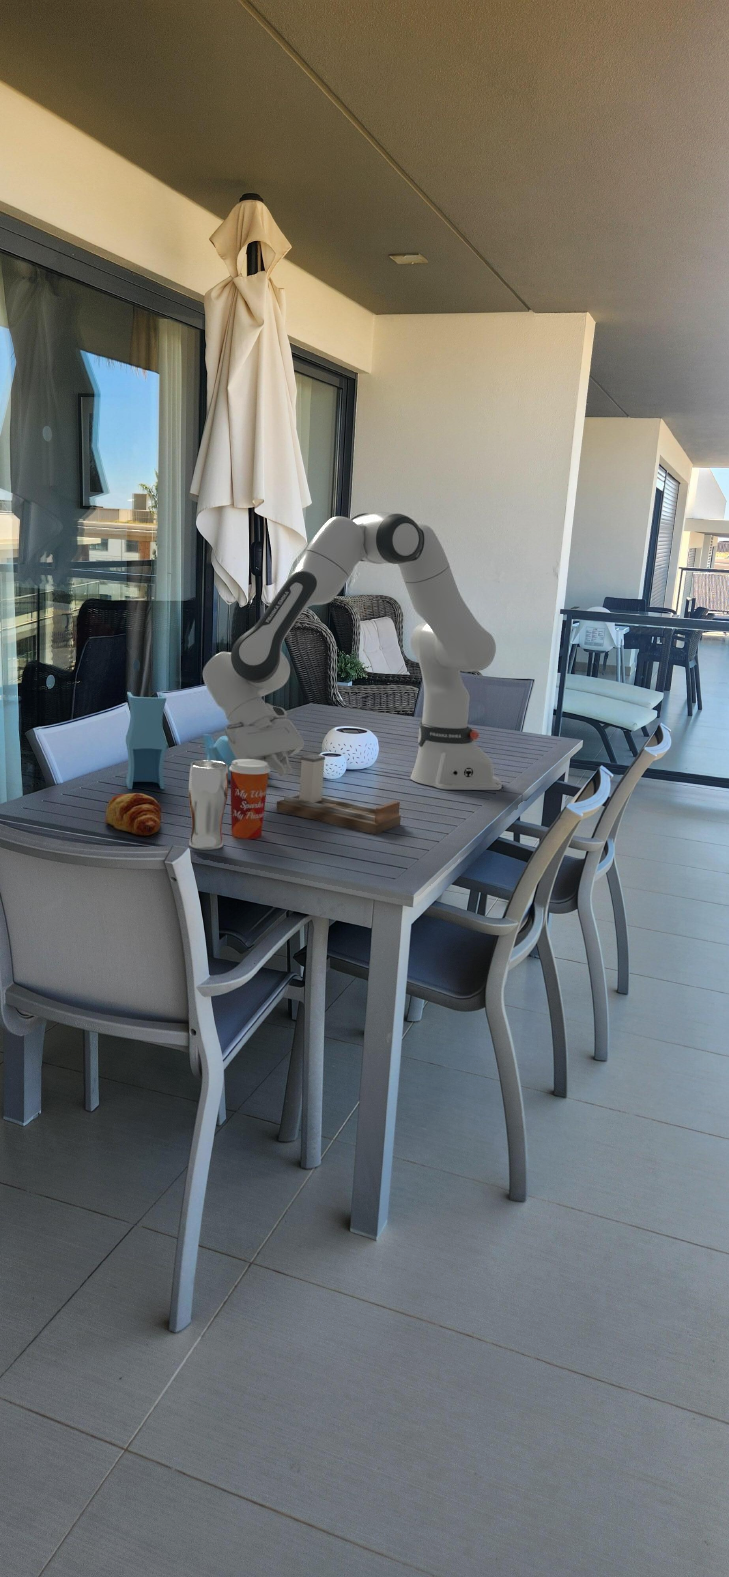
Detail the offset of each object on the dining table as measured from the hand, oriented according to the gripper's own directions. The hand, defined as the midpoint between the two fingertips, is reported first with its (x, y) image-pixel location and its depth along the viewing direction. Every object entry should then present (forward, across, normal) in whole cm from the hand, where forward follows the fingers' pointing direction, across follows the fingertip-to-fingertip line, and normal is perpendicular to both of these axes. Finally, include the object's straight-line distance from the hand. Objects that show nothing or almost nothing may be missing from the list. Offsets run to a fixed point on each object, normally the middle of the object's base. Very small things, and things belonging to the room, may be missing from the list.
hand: (286, 773), depth 210 cm
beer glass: (+10, -34, 0) cm, 35 cm away
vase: (-18, -8, +28) cm, 34 cm away
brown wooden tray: (+14, 0, -4) cm, 15 cm away
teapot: (-12, +14, +22) cm, 29 cm away
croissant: (-3, -33, +13) cm, 36 cm away
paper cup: (+11, -23, 0) cm, 26 cm away
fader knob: (+8, 0, -1) cm, 8 cm away
